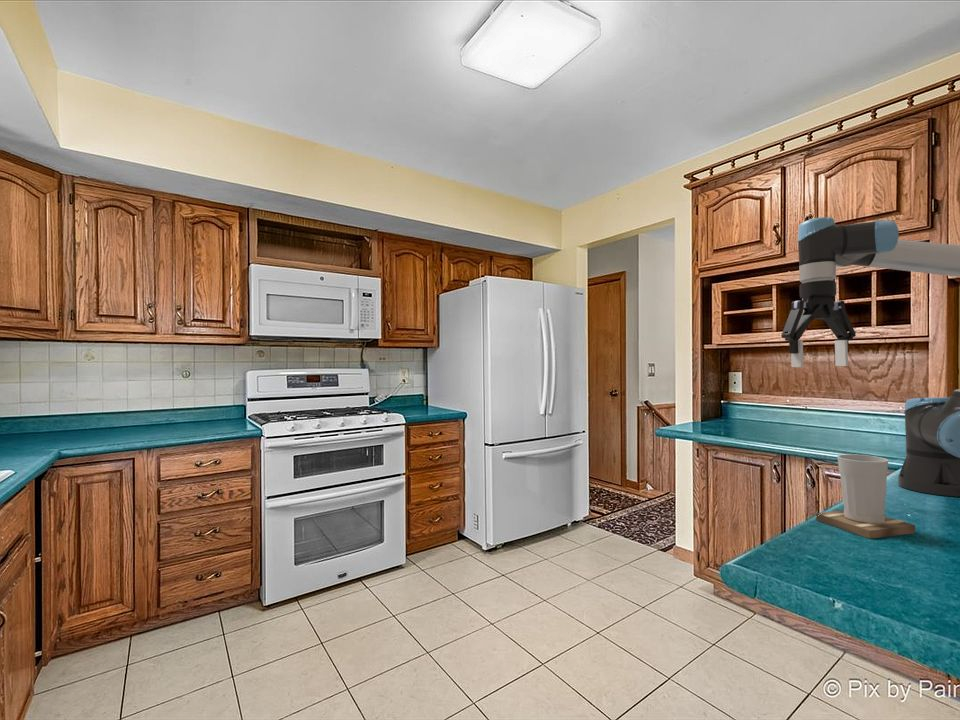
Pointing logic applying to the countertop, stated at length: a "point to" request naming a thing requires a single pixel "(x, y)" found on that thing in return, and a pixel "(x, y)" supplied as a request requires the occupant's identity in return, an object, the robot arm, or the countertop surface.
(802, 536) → the countertop surface
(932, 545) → the countertop surface
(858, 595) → the countertop surface
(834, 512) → the striped wooden coaster
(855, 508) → the cup
